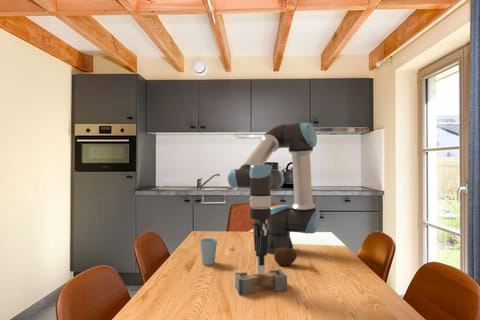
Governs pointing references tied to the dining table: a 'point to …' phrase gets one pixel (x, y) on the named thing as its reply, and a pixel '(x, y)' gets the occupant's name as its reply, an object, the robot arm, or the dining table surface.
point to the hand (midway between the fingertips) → (260, 273)
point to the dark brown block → (262, 281)
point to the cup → (208, 250)
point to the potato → (284, 256)
